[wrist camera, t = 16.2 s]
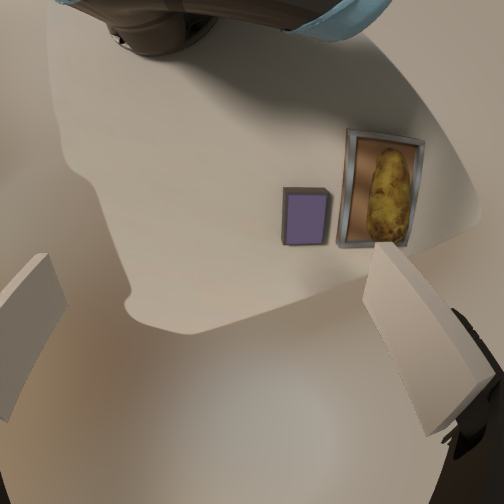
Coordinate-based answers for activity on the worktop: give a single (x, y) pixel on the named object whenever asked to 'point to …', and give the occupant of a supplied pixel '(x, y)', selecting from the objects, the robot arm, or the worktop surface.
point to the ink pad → (304, 215)
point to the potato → (389, 198)
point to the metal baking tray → (360, 179)
